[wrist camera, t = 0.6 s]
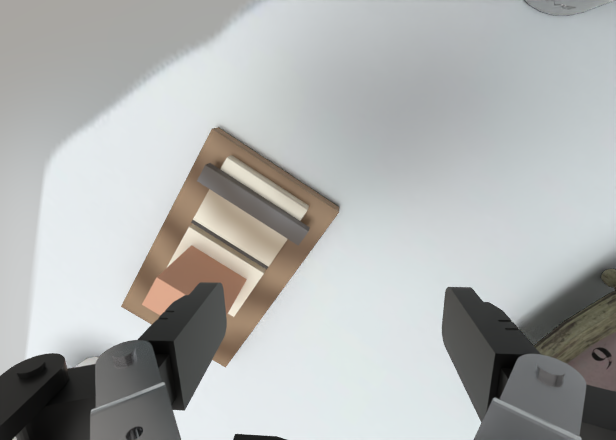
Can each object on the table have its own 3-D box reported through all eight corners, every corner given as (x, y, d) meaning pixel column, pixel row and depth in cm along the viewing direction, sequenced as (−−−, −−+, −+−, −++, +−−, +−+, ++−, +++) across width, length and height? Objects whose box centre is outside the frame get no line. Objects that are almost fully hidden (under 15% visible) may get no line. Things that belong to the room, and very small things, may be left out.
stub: (194, 222, 31) (152, 255, 24) (266, 267, 32) (245, 311, 25) (168, 268, 33) (123, 311, 26) (237, 310, 34) (210, 361, 27)
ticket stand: (218, 127, 30) (200, 130, 26) (339, 207, 31) (338, 220, 27) (129, 298, 37) (106, 319, 33) (230, 357, 38) (217, 383, 35)
